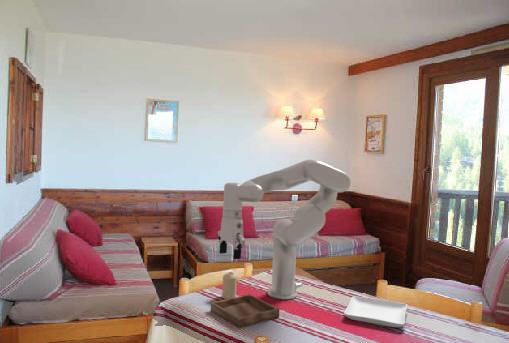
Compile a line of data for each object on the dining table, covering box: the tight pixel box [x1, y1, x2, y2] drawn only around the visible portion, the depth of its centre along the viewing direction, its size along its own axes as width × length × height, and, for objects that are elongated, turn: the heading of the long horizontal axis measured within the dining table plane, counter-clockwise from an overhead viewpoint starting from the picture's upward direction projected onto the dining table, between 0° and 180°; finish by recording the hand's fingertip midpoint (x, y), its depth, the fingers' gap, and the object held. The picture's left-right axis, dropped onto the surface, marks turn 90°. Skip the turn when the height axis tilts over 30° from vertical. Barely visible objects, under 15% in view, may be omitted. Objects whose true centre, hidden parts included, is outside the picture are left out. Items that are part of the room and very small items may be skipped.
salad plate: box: [343, 295, 409, 328], centre depth 170 cm, size 21×21×3 cm
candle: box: [221, 271, 238, 300], centre depth 182 cm, size 6×6×10 cm
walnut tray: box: [210, 293, 280, 329], centre depth 166 cm, size 18×18×3 cm
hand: (229, 256), depth 181 cm, fingers open, 9 cm apart
